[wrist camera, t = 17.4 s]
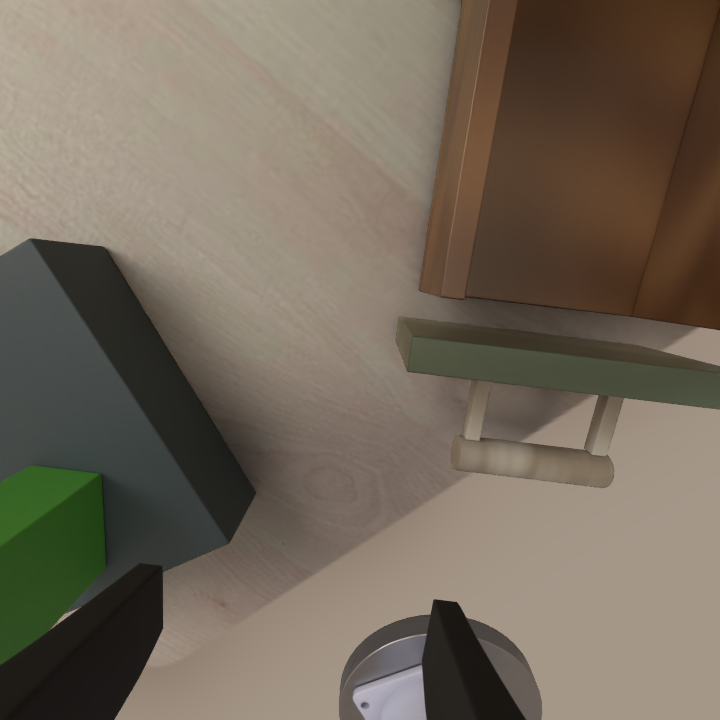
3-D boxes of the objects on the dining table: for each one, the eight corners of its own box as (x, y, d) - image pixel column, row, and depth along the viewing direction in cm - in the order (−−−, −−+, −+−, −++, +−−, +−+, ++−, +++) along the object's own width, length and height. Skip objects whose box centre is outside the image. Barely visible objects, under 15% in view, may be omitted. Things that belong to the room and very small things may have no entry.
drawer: (607, 451, 18) (712, 528, 13) (383, 424, 18) (389, 489, 13) (775, -118, 13) (1076, -413, 8) (464, -153, 13) (533, -473, 8)
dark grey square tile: (256, 493, 21) (229, 544, 17) (74, 574, 22) (11, 637, 18) (104, 246, 18) (29, 237, 14) (-91, 359, 19) (-208, 379, 15)
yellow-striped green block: (107, 567, 17) (-14, 700, 12) (40, 559, 17) (-110, 687, 12) (102, 473, 16) (-33, 571, 11) (31, 464, 16) (-140, 558, 11)
